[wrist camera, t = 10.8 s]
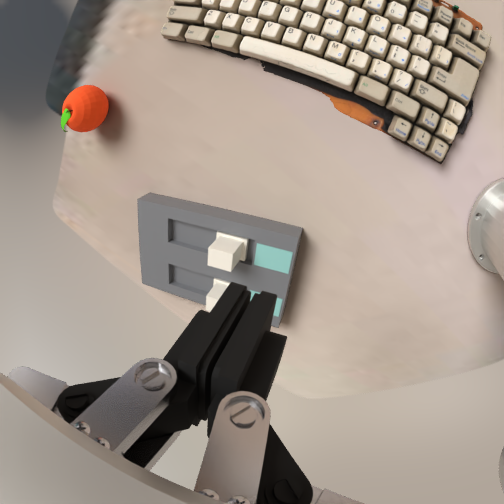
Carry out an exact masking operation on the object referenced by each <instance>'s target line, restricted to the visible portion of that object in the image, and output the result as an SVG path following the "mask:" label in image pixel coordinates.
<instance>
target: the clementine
mask: <svg viewBox="0 0 504 504" xmlns="http://www.w3.org/2000/svg"><path fill="white" fill-rule="evenodd" d="M108 108H109V104H108V99H107V97H106V95H105V93H104V92H103V91H102V90H101V89H100V88H98V87H96V86H92V85H84V86H81V87H78V88H76V89H75V90H73V91H72V92H71V93H70V94H69V95H68V97H67V98H66V99H65V102H64V104H63V111H62V113H63V115H62V118H61V127H62V129H63V130H64V126H65V124H67V125H68V126H69V127H70V128H71V129H72V130H74V131H77V132H88V131H91V130H93V129H95V128H97V127H98V126H99V125H100V124H101V123H102V122H103V121H104V119H105V117H106V115H107V113H108ZM64 131H65V130H64ZM65 132H68V131H65Z"/></svg>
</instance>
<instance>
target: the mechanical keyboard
mask: <svg viewBox="0 0 504 504" xmlns="http://www.w3.org/2000/svg"><path fill="white" fill-rule="evenodd" d="M173 1H174V6H171V7H170V8H169V10H168V12H167V18H168V19H169V21H168V22H166V23H165V24H164V26H163V28H162V30H161V34H162V35H163V37H164V38H165V39H173V40H179V41H186V42H190V43H197V44H200V45H202V46H204V47H207V48H209V49H214V50H216V51H219V52H222V53H224V54H227V55H229V56H231V57H237V58H241V59H244V60H245V59H248V58H251V57H252V58H256V59H259V60H260V61H261V63H262V66H263V67H264V66H265V68H263V69H264V71H266V72H267V71H268V72H270V73H273V74H275V75H278V76H281V77H284V78H286V79H289V80H292V81H295V82H298V83H300V84H303V85H306V86H308V87H311V88H313V89H315V90H317V91H320V92H322V93H323V94H325V95H326V96H328V97H330V100H331V101H332V102H333V104H334V107H335V108H336V109H337V110H339V111H340V112H342V113H344V114H346V115H348V116H350V117H351V118H354V119H356V120H358V121H360V122H362V123H364V124H366V125H368V126H370V127H372V128H374V129H378V130H380V131H382V132H384V133H386V134H388V135H389V136H392V137H393V138H395V139H397V140H399V141H401V142H402V143H404V144H406V145H408V146H410V147H411V148H413V149H415V150H417V151H419V152H421V153H422V154H424V155H426V156H428V157H430V158H431V159H433V160H435V161H436V162H438V163H440V164H442V162H443V161H444V159H445V157H446V154H447V152H448V151H449V149H450V147H451V145H452V144H451V143H452V142H453V141H454V138H455V136H456V135H457V134H458V133H461V134H463V133H464V131H465V129H466V126H467V123H468V121H469V119H470V117H471V116H472V108H473V100H472V95H473V93H474V90H475V87H476V83H477V81H478V78H479V74H480V70H481V67H482V66H483V64H484V61H485V58H486V51H487V50H488V48H489V45H490V41H491V36H490V35H488V34H487V33H485V32H484V31H482V25H481V23H480V22H477V21H476V20H475V19H473V18H471V17H469V16H468V15H466V14H465V13H464V12H462V11H461V10H459V9H458V8H459V7H458V6H456V5H454V6H452V5H450V4H448V3H446V2H445V1H443V0H173ZM441 2H444V3H446V4H448V5H449V7H447V6H446V5H444V4H442V3H441ZM476 28H478V29H476ZM263 62H264V63H263ZM374 122H377V124H374Z"/></svg>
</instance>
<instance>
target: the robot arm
mask: <svg viewBox="0 0 504 504" xmlns="http://www.w3.org/2000/svg"><path fill="white" fill-rule="evenodd" d="M477 213H478V214H477ZM476 214H477V215H476ZM467 234H468V242H469V246H470V250H471V251H472V253H473V256H474V257H475V259H476V260H477V262H478V263H479V264H480V265H481V266H482V267H483V268H484V269H486V270H488V271H490V272H493V273H496V274H500V276H501V277H502V279H503V281H504V178H502V179H499V180H497V181H495V182H493V183H492V184H490V185H489V186H488V187H487V188H486V189H484V191H483V192H482V193H481V194H480V195H479V197H478V198H477V200H476V202H475V203H474V205H473V208H472V210H471V213H470V217H469V221H468V231H467ZM250 299H251V291H248V290H247V286H245V285H242V284H238V283H235V282H231V283H230V284H229V285H228V287H227V288H226V290H225V291H224V293H223V294H222V296H221V297H220V298H219V300H218V301H217V303H216V304H215V306H214V307H213V309H212V310H211V312H210V313H209V312H206V311H203V310H200V311H198V313H197V314H196V315H195V316H194V318H193V319H192V320H191V322H190V323H189V325H188V326H187V327H186V329H185V330H184V331H183V333H182V334H181V336H180V337H179V338H178V340H177V341H176V342H175V344H174V345H173V346H172V348H171V349H170V351H169V352H168V353H167V355H166V356H165V357H164V359H163V360H162V359H158V358H148V359H144V360H141V361H139V362H137V363H136V364H135V365H134V366H132V367H131V368H130V369H129V370H128V371H127V372H126V373H125V374H124V375H123V376H122V377H119V378H114V379H107V380H102V381H96V382H90V383H84V384H78V385H73V386H68V385H67V384H66V382H64V381H61V380H58V379H56V378H53V377H50V376H48V375H45V374H43V373H40V372H38V371H36V370H33V369H31V368H29V367H24V366H21V367H17V368H15V369H13V370H12V371H11V372H10V373H9V375H8V376H7V377H6V376H5V375H3V374H2V373H0V504H364V503H361V502H358V501H356V500H352V499H350V498H347V497H345V496H342V495H339V494H337V493H335V492H332V491H330V490H327V489H324V490H322V489H319V488H317V487H314V486H312V485H311V484H310V482H309V481H308V479H307V478H306V476H305V475H304V473H303V472H302V471H301V469H300V468H299V466H298V465H297V463H296V462H295V461H294V459H293V458H292V456H291V455H290V453H289V452H288V451H287V449H286V447H285V446H284V444H283V443H282V442H281V440H280V438H279V437H278V435H277V434H276V432H275V431H274V430H273V428H272V426H271V425H270V408H269V406H268V404H267V402H266V400H267V397H268V394H269V392H270V389H271V386H272V383H273V381H274V378H275V375H276V372H277V369H278V366H279V363H280V360H281V357H282V354H283V350H284V347H285V343H286V339H287V336H284V335H280V334H277V333H273V332H270V328H271V323H272V319H273V314H274V310H275V305H276V300H277V295H276V294H273V293H269V292H266V291H261V293H260V294H258V293H255V294H254V296H253V297H252V299H251V301H250ZM207 418H208V429H207V436H208V438H209V441H208V444H207V448H206V451H205V454H204V458H203V461H202V465H201V468H200V471H199V475H198V478H197V481H196V485H195V489H194V491H192V490H190V489H187V488H185V487H183V486H180V485H178V484H176V483H173V482H171V481H169V480H167V479H164V478H162V477H160V476H158V475H156V474H154V473H152V472H150V469H151V468H152V467H153V466H154V465H155V464H156V462H157V461H158V460H159V459H160V458H161V457H162V455H163V454H164V453H165V452H166V450H167V449H168V448H169V447H170V446H171V445H172V443H173V442H174V441H175V440H176V439H177V437H178V436H179V435H180V433H181V431H182V430H185V429H189V428H190V426H191V424H193V425H195V426H198V424H199V422H200V420H201V419H202V420H204V421H206V420H207ZM499 478H500V483H501V487H502V489H503V492H504V448H503V450H502V453H501V457H500V461H499Z"/></svg>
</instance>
